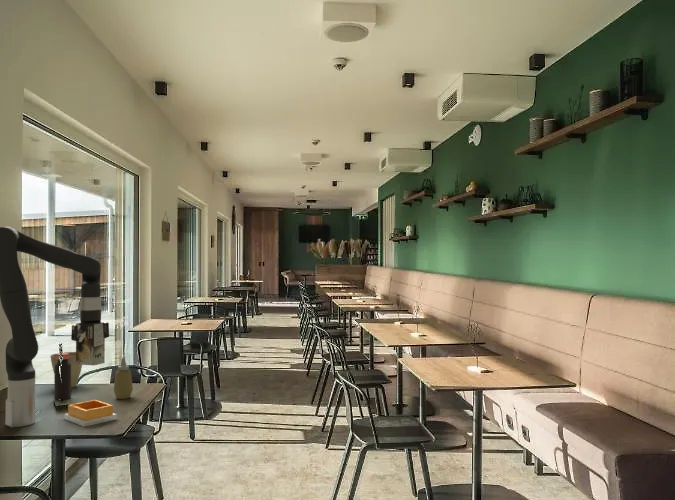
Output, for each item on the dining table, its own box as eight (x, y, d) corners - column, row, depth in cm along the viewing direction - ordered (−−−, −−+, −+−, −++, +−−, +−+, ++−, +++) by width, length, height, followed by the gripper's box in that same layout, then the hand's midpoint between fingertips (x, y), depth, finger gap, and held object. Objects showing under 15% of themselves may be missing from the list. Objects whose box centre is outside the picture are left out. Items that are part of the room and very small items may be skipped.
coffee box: (105, 363, 227) (106, 322, 227) (94, 365, 221) (94, 324, 221) (86, 361, 230) (86, 321, 230) (74, 364, 223) (75, 323, 224)
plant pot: (74, 382, 292) (75, 350, 292) (89, 386, 283) (89, 353, 283) (44, 387, 281) (44, 354, 281) (58, 391, 271) (59, 357, 271)
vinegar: (74, 396, 261) (74, 352, 262) (65, 400, 255) (65, 355, 255) (59, 396, 262) (60, 352, 262) (51, 400, 255) (51, 355, 255)
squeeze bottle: (109, 398, 257) (109, 358, 258) (123, 395, 264) (124, 355, 265) (122, 401, 254) (122, 360, 254) (136, 397, 261) (136, 357, 261)
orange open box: (83, 426, 215) (83, 412, 215) (64, 419, 225) (64, 405, 225) (116, 419, 225) (116, 405, 225) (96, 412, 235) (96, 398, 235)
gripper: (77, 310, 218) (76, 353, 217) (112, 308, 228) (112, 349, 228) (68, 309, 222) (67, 351, 222) (103, 306, 233) (103, 347, 233)
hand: (90, 350), depth 225 cm, fingers closed on coffee box, 8 cm apart
